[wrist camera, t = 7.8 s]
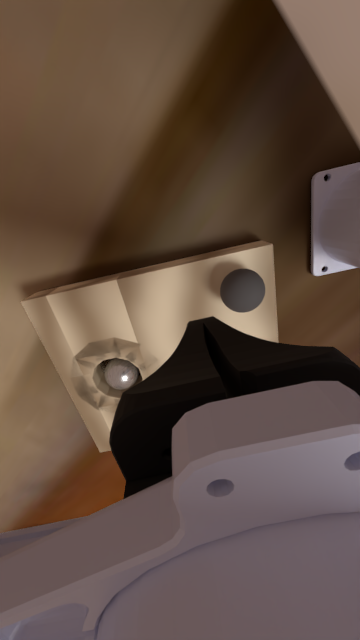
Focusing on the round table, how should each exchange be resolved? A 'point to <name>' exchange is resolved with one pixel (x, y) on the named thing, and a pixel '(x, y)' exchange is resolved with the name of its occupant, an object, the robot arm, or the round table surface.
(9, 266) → the round table surface
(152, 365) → the plate
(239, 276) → the black rubber ball
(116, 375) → the steel ball
